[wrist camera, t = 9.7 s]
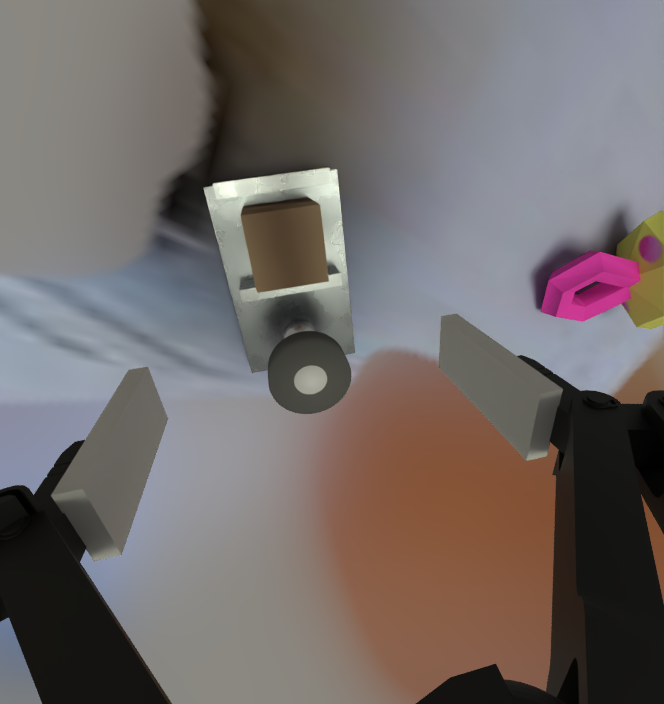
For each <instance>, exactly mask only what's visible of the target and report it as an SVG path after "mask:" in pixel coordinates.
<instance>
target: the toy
mask: <svg viewBox="0 0 664 704" xmlns="http://www.w3.org/2000/svg"><path fill="white" fill-rule="evenodd" d="M595 281H597V282H602V283H600V284H598V285H596V286H594V287H592V288H590V289H588V290H586V291H584V292H582V293H580V294H575V292H576V291H578V290H579V289H581V288H583V287H585V286H587V285H589V284H591V283H593V282H595ZM621 303H622V305H623V307H624V308H625V310H626V311H627V313H628V314H629V316H630V317H631V319H632V321H633V322H634V324H635V325H636V327H640V328H647V329H653V328H656V327H658V326H661V325H664V213H663V211H660V212H658V213H657V214H655V215H653V216H652V217H650V218H648V219H647V220H645V221H643V222H642V223H641V224H640V225H639V226H638V227H637V228H636V229H634V230H633V231H632V232H631V233H630V234H629V235H628V236H626V237H625V238H624V239H623V240H622V241H621V242H620V243H619V244H617V249H616V256H613V255H610V254H606V253H603V252H598V251H589V252H587V253H585V254H583V255H582V256H580V257H578V258H576V259H575V260H573V261H571V262H569V263H568V264H566V265H564V266H562V267H561V268H559V269H557V270H555V271H554V272H552V274H551V276H550V278H549V281H548V285H547V289H546V293H545V297H544V301H543V305H542V309H541V312H543V313H546V314H549V315H552V316H555V317H560V318H566V319H571V320H577V321H585V320H587V319H589V318H592V317H594V316H596V315H598V314H600V313H602V312H604V311H606V310H608V309H611V308H613V307H615V306H617V305H619V304H621Z"/></svg>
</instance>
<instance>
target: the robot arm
mask: <svg viewBox="0 0 664 704" xmlns="http://www.w3.org/2000/svg"><path fill="white" fill-rule="evenodd" d="M439 368H440V369H441V370H442V371H443V372H444V373H445V374H446V375H447V376H448V378H449V379H450V380H451V381H452V382H453V383H454V384H455V385H456V386H457V387H458V388H459V389H460V390H461V391H462V393H463V394H464V395H465V396H466V397H467V398H468V399H469V400H470V401H471V402H472V403H473V404H474V405H475V406H476V407H477V409H479V411H480V412H481V413H482V414H483V415H484V416H485V417H486V418H487V419H488V420H489V421H490V422H491V423H492V424H493V426H494V427H495V428H496V429H497V430H498V431H499V432H500V433H501V434H502V435H503V436H504V437H505V438H506V439H507V440H508V442H509V443H510V444H511V445H512V446H513V447H514V448H515V449H516V450H517V451H518V452H519V453H520V454H521V455H522V456H523V457H524V459H525V460H526V461H528V460H532V459H536V458H540V457H545V456H547V453H548V449H549V445H550V442H551V443H552V444H553V445H554V446H555V447H557V448H558V449H559V451H558V455H557V459H556V463H555V467H554V471H553V475H556V498H555V500H556V501H555V531H554V564H553V565H554V566H553V597H552V631H551V659H550V670H549V675H548V681H547V688H546V692H545V691H543V690H541V689H539V688H537V687H534V686H531V685H528V684H525V683H522V682H517V681H512V680H504V679H503V677H502V675H501V673H500V671H499V669H498V667H497V665H496V664H493V665H490V666H487V667H483V668H480V669H477V670H474V671H471V672H467V673H464V674H461V675H457V676H454V677H451V678H449V679H448V680H447V681H445V682H444V683H442V684H441V685H440V686H439V687H437V688H436V689H435V690H433V691H432V692H431V693H429V694H428V695H427V696H425V697H424V698H423V699H421V700H420V701H419V702H418V703H416V704H664V604H663V599H662V594H661V589H660V584H659V580H658V575H657V570H656V565H655V560H654V556H653V551H652V546H651V541H650V536H649V532H648V527H647V522H646V517H645V512H644V507H643V502H642V498H641V495H642V496H643V498H644V500H645V502H646V504H647V505H648V507H649V509H650V511H651V512H652V514H653V516H654V518H655V520H656V521H657V523H658V525H659V527H660V528H661V530H662V532H663V534H664V391H652V392H649V393H647V395H646V396H645V399H644V402H643V404H621V403H620V402H619V401H618V400H617V399H615V398H614V397H612V396H610V395H607V394H605V393H601V392H597V391H589V390H585V391H580V390H578V389H577V388H575V387H574V386H572V385H571V384H569V383H568V382H566V381H565V380H563V379H562V378H560V377H559V376H557V375H556V374H553V372H551V371H550V370H549V369H547V368H546V369H545V367H544V366H543V365H541V364H540V363H538V362H537V361H535V360H533V359H530V358H528V357H525V356H522V355H520V356H516V355H514V354H513V353H511V352H510V351H508V350H507V349H506V348H504V347H503V346H501V345H500V344H499V343H497V342H496V341H494V340H493V339H492V338H490V337H489V336H487V335H486V334H484V333H483V332H482V331H480V330H479V329H477V328H476V327H475V326H473V325H472V324H470V323H469V322H468V321H466V320H465V319H463V318H462V317H460V316H459V315H458V314H452V315H446V316H441V332H440V353H439ZM167 420H168V418H167V415H166V413H165V410H164V407H163V405H162V402H161V400H160V397H159V394H158V392H157V389H156V387H155V384H154V381H153V379H152V376H151V374H150V371H149V369H148V367H143V368H138V369H132V370H128V372H127V374H126V375H125V377H124V378H123V380H122V382H121V383H120V385H119V386H118V388H117V390H116V391H115V393H114V395H113V396H112V398H111V399H110V401H109V403H108V404H107V406H106V407H105V409H104V411H103V412H102V414H101V415H100V417H99V419H98V420H97V422H96V424H95V425H94V427H93V428H92V430H91V432H90V433H89V435H88V437H87V438H86V440H82V441H77V442H74V443H73V444H72V445H71V446H70V447H69V448H67V449H66V450H65V451H64V452H63V453H62V454H61V455H60V457H59V458H58V460H57V461H56V463H55V464H54V467H53V468H52V469H51V470H50V472H49V473H48V475H47V477H46V478H45V479H44V480H43V482H42V484H41V485H40V487H39V488H38V490H37V491H36V493H35V494H34V495H33V494H32V492H31V491H30V489H29V488H27V487H25V486H23V485H21V486H19V485H17V486H11V487H8V488H4V489H2V490H0V621H2V620H4V619H6V618H8V617H9V618H10V621H11V624H12V626H13V629H14V632H15V634H16V637H17V639H18V642H19V644H20V647H21V650H22V652H23V655H24V658H25V660H26V662H27V665H28V668H29V670H30V673H31V676H32V678H33V681H34V683H35V686H36V688H37V691H38V694H39V696H40V699H41V701H42V704H172V703H171V702H170V700H169V699H168V697H167V696H166V694H165V692H164V691H163V689H162V688H161V686H160V685H159V683H158V682H157V680H156V679H155V677H154V675H153V674H152V673H151V671H150V669H149V668H148V666H147V665H146V663H145V662H144V660H143V659H142V657H141V656H140V654H139V652H138V651H137V649H136V648H135V646H134V645H133V643H132V642H131V640H130V638H129V637H128V635H127V634H126V632H125V631H124V629H123V628H122V626H121V625H120V623H119V622H118V620H117V619H116V617H115V615H114V614H113V612H112V611H111V609H110V608H109V606H108V605H107V603H106V602H105V600H104V598H103V597H102V595H101V594H100V592H99V591H98V589H97V588H96V586H95V585H94V583H93V582H92V580H91V578H90V577H89V575H88V574H87V572H86V571H85V569H84V568H83V566H82V565H81V563H80V561H81V558H82V556H83V554H84V552H85V549H86V550H87V551H88V552H89V554H90V556H91V557H92V559H93V560H94V561H97V560H101V559H106V558H110V557H114V556H119V555H122V552H123V549H124V546H125V543H126V540H127V537H128V535H129V532H130V529H131V526H132V523H133V520H134V517H135V514H136V511H137V508H138V505H139V502H140V499H141V496H142V494H143V490H144V488H145V484H146V482H147V479H148V476H149V473H150V470H151V467H152V464H153V461H154V458H155V455H156V452H157V450H158V447H159V444H160V441H161V438H162V435H163V432H164V429H165V426H166V423H167Z"/></svg>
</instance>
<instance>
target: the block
mask: <svg viewBox="0 0 664 704" xmlns="http://www.w3.org/2000/svg"><path fill="white" fill-rule="evenodd" d="M240 217H241V221H242V226H243V231H244V235H245V240H246V245H247V249H248V254H249V259H250V263H251V268H252V272H253V277H254V282H255V286H256V291H257V293H260V292H267V291H273V290H279V289H285V288H291V287H298V286H304V285H310V284H316V283H322V282H329V277H328V268H327V259H326V251H325V242H324V233H323V224H322V216H321V207H320V204H319V203H317V202H315V201H314V200H312V199H311V198H309V197H305V198H297V199H290V200H282V201H275V202H268V203H260V204H253V205H245V206H243V208H242V212H241V215H240Z"/></svg>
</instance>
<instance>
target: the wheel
mask: <svg viewBox="0 0 664 704" xmlns="http://www.w3.org/2000/svg"><path fill="white" fill-rule="evenodd" d="M268 381H269V389H270V392H271V394H272V396H273V398H274V399H275V400H276V402H278V404H279V405H281V406H282V407H284V408H285V409H287V410H289V411H292V412H295V413H301V414H312V413H317V412H321V411H324V410H327V409H329V408H331V407H332V406H334V405H335V404H336V403H338V402H339V401H340V400H341V399H342V398H343V396H344V395H345V394H346V392H347V390H348V388H349V386H350V382H351V369H350V365H349V363H348V361H347V358H346V356H345V354H344V352H343V350H342V348H341V346H340V345H339V344H338V342H337V341H336V340H334V339H333V338H332V337H330V336H328V335H327V334H324V333H321V332H317V331H301V332H297V333H294V334H292V335H289V336H288V337H286V338H284V339H283V340H282V341H280V342H279V343H278V344H277V345H276V347H275V348H274V349H273V351H272V353H271V355H270V357H269V361H268Z"/></svg>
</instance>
